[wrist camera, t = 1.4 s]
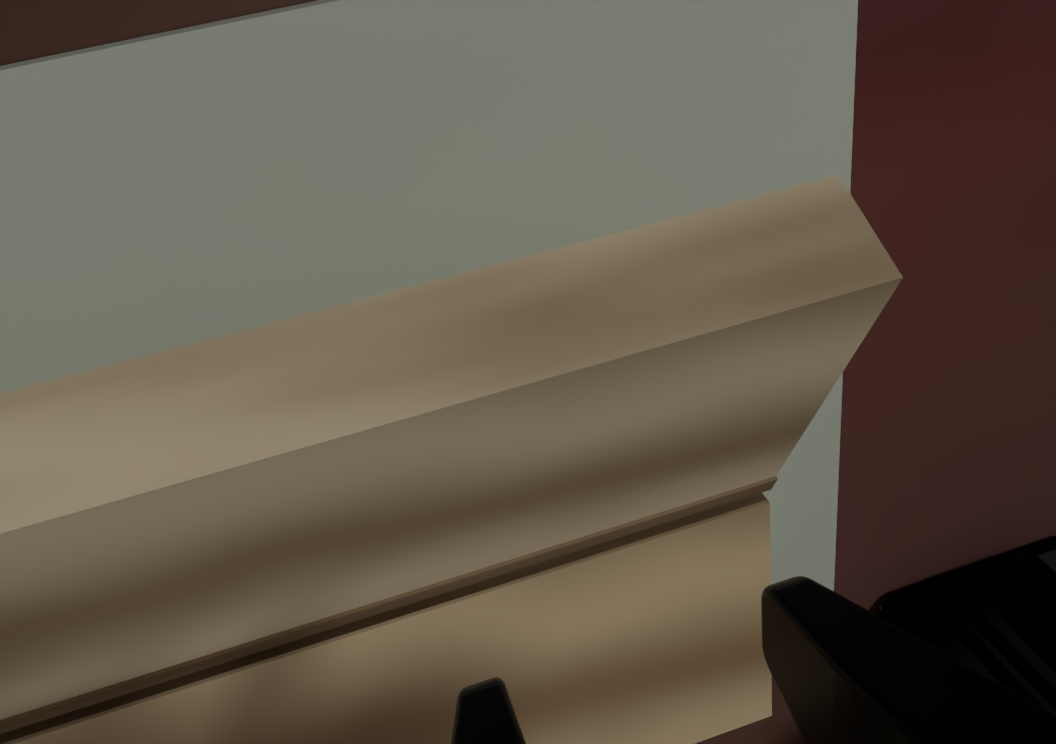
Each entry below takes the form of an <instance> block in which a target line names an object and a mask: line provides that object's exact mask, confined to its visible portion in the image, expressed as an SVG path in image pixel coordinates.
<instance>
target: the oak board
mask: <svg viewBox="0 0 1056 744" xmlns="http://www.w3.org/2000/svg"><path fill="white" fill-rule="evenodd" d="M769 585H771V572H770V502H769V501H768V499H767V498H766V497H765V496H764V495H763V493H759V494H756V495H753V496H750V497H746V498H743V499H740V500H737V501H734V502H731V503H728V504H724V505H721V506H718V507H715V508H712V509H709V510H705V511H702V512H699V513H696V514H693V515H690V516H687V517H683V518H680V519H677V520H674V521H671V522H668V523H664V524H661V525H658V526H655V527H652V528H649V529H646V530H642V531H639V532H636V533H633V534H630V535H627V536H623V537H620V538H617V539H614V540H611V541H608V542H605V543H601V544H598V545H595V546H592V547H589V548H586V549H582V550H579V551H576V552H573V553H570V554H567V555H563V556H560V557H557V558H554V559H551V560H548V561H545V562H541V563H538V564H535V565H532V566H529V567H526V568H522V569H519V570H516V571H513V572H510V573H507V574H504V575H500V576H497V577H494V578H491V579H488V580H485V581H481V582H478V583H475V584H472V585H469V586H466V587H463V588H459V589H456V590H453V591H450V592H447V593H444V594H440V595H437V596H434V597H431V598H428V599H425V600H422V601H418V602H415V603H412V604H409V605H406V606H403V607H399V608H396V609H393V610H390V611H387V612H384V613H381V614H377V615H374V616H371V617H368V618H365V619H362V620H358V621H355V622H352V623H349V624H346V625H343V626H340V627H336V628H333V629H330V630H327V631H324V632H321V633H317V634H314V635H311V636H308V637H305V638H302V639H298V640H295V641H292V642H289V643H286V644H283V645H280V646H276V647H273V648H270V649H267V650H264V651H261V652H257V653H254V654H251V655H248V656H245V657H242V658H239V659H235V660H232V661H229V662H226V663H223V664H220V665H216V666H213V667H210V668H207V669H204V670H201V671H198V672H194V673H191V674H188V675H185V676H182V677H179V678H175V679H172V680H169V681H166V682H163V683H160V684H157V685H153V686H150V687H147V688H144V689H141V690H138V691H134V692H131V693H128V694H125V695H122V696H119V697H116V698H112V699H109V700H106V701H103V702H100V703H97V704H93V705H90V706H87V707H84V708H81V709H78V710H75V711H71V712H68V713H65V714H62V715H59V716H56V717H52V718H49V719H46V720H43V721H40V722H37V723H33V724H30V725H27V726H24V727H21V728H18V729H15V730H11V731H8V732H5V733H2V734H0V744H451V738H452V731H453V724H454V717H455V710H456V703H457V698H458V695H459V692H460V691H461V690H462V689H463V688H465V687H467V686H470V685H473V684H476V683H479V682H482V681H485V680H488V679H491V678H494V677H498V678H501V679H502V680H503V681H504V683H505V685H506V688H507V691H508V693H509V696H510V699H511V702H512V705H513V708H514V710H515V713H516V716H517V719H518V722H519V725H520V727H521V730H522V733H523V736H524V739H525V742H526V744H694V743H697V742H700V741H703V740H706V739H708V738H711V737H714V736H717V735H719V734H722V733H725V732H728V731H731V730H733V729H736V728H739V727H742V726H744V725H747V724H750V723H753V722H756V721H758V720H761V719H764V718H767V717H769V716H772V674H771V672H770V670H769V668H768V666H767V663H766V660H765V657H764V654H763V649H762V621H761V596H762V592H763V590H764V589H765V587H767V586H769Z"/></svg>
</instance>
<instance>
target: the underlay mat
mask: <svg viewBox="0 0 1056 744" xmlns="http://www.w3.org/2000/svg"><path fill="white" fill-rule="evenodd" d="M857 13H858V0H318V1H313V2H309V3H304V4H299V5H294V6H289V7H284V8H280V9H275V10H270V11H265V12H260V13H255V14H250V15H246V16H241V17H236V18H231V19H226V20H221V21H216V22H212V23H207V24H202V25H197V26H192V27H187V28H182V29H178V30H173V31H168V32H163V33H158V34H153V35H149V36H144V37H139V38H134V39H129V40H124V41H119V42H115V43H110V44H105V45H100V46H95V47H90V48H85V49H81V50H76V51H71V52H66V53H61V54H56V55H52V56H47V57H42V58H37V59H32V60H27V61H22V62H18V63H13V64H8V65H3V66H0V393H3V392H7V391H10V390H14V389H18V388H22V387H26V386H30V385H33V384H37V383H41V382H45V381H49V380H53V379H57V378H60V377H64V376H68V375H72V374H76V373H80V372H83V371H87V370H91V369H95V368H99V367H103V366H106V365H110V364H114V363H118V362H122V361H126V360H129V359H133V358H137V357H141V356H145V355H149V354H153V353H156V352H160V351H164V350H168V349H172V348H176V347H179V346H183V345H187V344H191V343H195V342H199V341H202V340H206V339H210V338H214V337H218V336H222V335H225V334H229V333H233V332H237V331H241V330H245V329H249V328H252V327H256V326H260V325H264V324H268V323H272V322H275V321H279V320H283V319H287V318H291V317H295V316H298V315H302V314H306V313H310V312H314V311H318V310H321V309H325V308H329V307H333V306H337V305H341V304H345V303H348V302H352V301H356V300H360V299H364V298H368V297H371V296H375V295H379V294H383V293H387V292H391V291H394V290H398V289H402V288H406V287H410V286H414V285H417V284H421V283H425V282H429V281H433V280H437V279H441V278H444V277H448V276H452V275H456V274H460V273H464V272H467V271H471V270H475V269H479V268H483V267H487V266H490V265H494V264H498V263H502V262H506V261H510V260H513V259H517V258H521V257H525V256H529V255H533V254H537V253H540V252H544V251H548V250H552V249H556V248H560V247H563V246H567V245H571V244H575V243H579V242H583V241H586V240H590V239H594V238H598V237H602V236H606V235H609V234H613V233H617V232H621V231H625V230H629V229H633V228H636V227H640V226H644V225H648V224H652V223H656V222H659V221H663V220H667V219H671V218H675V217H679V216H682V215H686V214H690V213H694V212H698V211H702V210H706V209H709V208H713V207H717V206H721V205H725V204H729V203H732V202H736V201H740V200H744V199H748V198H752V197H755V196H759V195H763V194H767V193H771V192H775V191H778V190H782V189H786V188H790V187H794V186H798V185H802V184H805V183H809V182H813V181H817V180H821V179H825V178H828V177H832V176H836V175H839V177H840V178H841V180H842V182H843V183H844V185H845V186H846V188H847V190H848V191H849V193H850V184H851V159H852V135H853V110H854V86H855V62H856V37H857ZM842 379H843V372H842V374H841V375H840V377H839V378H838V380H837V382H836V383H835V385H834V386H833V388H832V389H831V391H830V392H829V394H828V396H827V397H826V399H825V400H824V402H823V403H822V405H821V407H820V408H819V410H818V411H817V413H816V414H815V416H814V418H813V419H812V421H811V422H810V424H809V425H808V427H807V428H806V430H805V432H804V433H803V435H802V436H801V438H800V439H799V441H798V443H797V444H796V446H795V447H794V449H793V450H792V452H791V454H790V455H789V457H788V458H787V460H786V461H785V463H784V465H783V466H782V468H781V469H780V471H779V472H778V474H777V475H776V476H777V479H778V480H777V481H776V483H775V484H774V486H773V487H772V489H771V490H769V491H765V492H762V493H763V495H764V496H765V497H766V498H767V499H768V501H769V502H770V572H771V584H774V583H777V582H780V581H783V580H786V579H789V578H792V577H796V576H804V577H807V578H810V579H812V580H814V581H816V582H817V583H819V584H821V585H823V586H825V587H827V588H828V589H830V590H832V591H834V574H835V550H836V525H837V501H838V476H839V452H840V428H841V403H842Z"/></svg>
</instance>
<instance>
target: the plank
mask: <svg viewBox="0 0 1056 744" xmlns="http://www.w3.org/2000/svg"><path fill="white" fill-rule="evenodd" d="M902 278H903V277H902V275H901V274H900V272H899V270H898V269H897V267H896V266H895V264H894V263H893V261H892V259H891V258H890V256H889V255H888V253H887V251H886V250H885V248H884V247H883V245H882V244H881V242H880V240H879V239H878V237H877V236H876V234H875V232H874V231H873V229H872V228H871V226H870V224H869V223H868V221H867V220H866V218H865V217H864V215H863V213H862V212H861V210H860V209H859V207H858V205H857V204H856V202H855V201H854V199H853V197H852V196H851V194H850V193H849V191H848V190H847V188H846V186H845V185H844V183H843V182H842V180H841V178H840V177H839V175H836V176H832V177H828V178H825V179H821V180H817V181H813V182H809V183H805V184H802V185H798V186H794V187H790V188H786V189H782V190H778V191H775V192H771V193H767V194H763V195H759V196H755V197H752V198H748V199H744V200H740V201H736V202H732V203H729V204H725V205H721V206H717V207H713V208H709V209H706V210H702V211H698V212H694V213H690V214H686V215H682V216H679V217H675V218H671V219H667V220H663V221H659V222H656V223H652V224H648V225H644V226H640V227H636V228H633V229H629V230H625V231H621V232H617V233H613V234H609V235H606V236H602V237H598V238H594V239H590V240H586V241H583V242H579V243H575V244H571V245H567V246H563V247H560V248H556V249H552V250H548V251H544V252H540V253H537V254H533V255H529V256H525V257H521V258H517V259H513V260H510V261H506V262H502V263H498V264H494V265H490V266H487V267H483V268H479V269H475V270H471V271H467V272H464V273H460V274H456V275H452V276H448V277H444V278H441V279H437V280H433V281H429V282H425V283H421V284H417V285H414V286H410V287H406V288H402V289H398V290H394V291H391V292H387V293H383V294H379V295H375V296H371V297H368V298H364V299H360V300H356V301H352V302H348V303H345V304H341V305H337V306H333V307H329V308H325V309H321V310H318V311H314V312H310V313H306V314H302V315H298V316H295V317H291V318H287V319H283V320H279V321H275V322H272V323H268V324H264V325H260V326H256V327H252V328H249V329H245V330H241V331H237V332H233V333H229V334H225V335H222V336H218V337H214V338H210V339H206V340H202V341H199V342H195V343H191V344H187V345H183V346H179V347H176V348H172V349H168V350H164V351H160V352H156V353H153V354H149V355H145V356H141V357H137V358H133V359H129V360H126V361H122V362H118V363H114V364H110V365H106V366H103V367H99V368H95V369H91V370H87V371H83V372H80V373H76V374H72V375H68V376H64V377H60V378H57V379H53V380H49V381H45V382H41V383H37V384H33V385H30V386H26V387H22V388H18V389H14V390H10V391H7V392H3V393H0V734H2V733H5V732H8V731H11V730H15V729H18V728H21V727H24V726H27V725H30V724H33V723H37V722H40V721H43V720H46V719H49V718H52V717H56V716H59V715H62V714H65V713H68V712H71V711H75V710H78V709H81V708H84V707H87V706H90V705H93V704H97V703H100V702H103V701H106V700H109V699H112V698H116V697H119V696H122V695H125V694H128V693H131V692H134V691H138V690H141V689H144V688H147V687H150V686H153V685H157V684H160V683H163V682H166V681H169V680H172V679H175V678H179V677H182V676H185V675H188V674H191V673H194V672H198V671H201V670H204V669H207V668H210V667H213V666H216V665H220V664H223V663H226V662H229V661H232V660H235V659H239V658H242V657H245V656H248V655H251V654H254V653H257V652H261V651H264V650H267V649H270V648H273V647H276V646H280V645H283V644H286V643H289V642H292V641H295V640H298V639H302V638H305V637H308V636H311V635H314V634H317V633H321V632H324V631H327V630H330V629H333V628H336V627H340V626H343V625H346V624H349V623H352V622H355V621H358V620H362V619H365V618H368V617H371V616H374V615H377V614H381V613H384V612H387V611H390V610H393V609H396V608H399V607H403V606H406V605H409V604H412V603H415V602H418V601H422V600H425V599H428V598H431V597H434V596H437V595H440V594H444V593H447V592H450V591H453V590H456V589H459V588H463V587H466V586H469V585H472V584H475V583H478V582H481V581H485V580H488V579H491V578H494V577H497V576H500V575H504V574H507V573H510V572H513V571H516V570H519V569H522V568H526V567H529V566H532V565H535V564H538V563H541V562H545V561H548V560H551V559H554V558H557V557H560V556H563V555H567V554H570V553H573V552H576V551H579V550H582V549H586V548H589V547H592V546H595V545H598V544H601V543H605V542H608V541H611V540H614V539H617V538H620V537H623V536H627V535H630V534H633V533H636V532H639V531H642V530H646V529H649V528H652V527H655V526H658V525H661V524H664V523H668V522H671V521H674V520H677V519H680V518H683V517H687V516H690V515H693V514H696V513H699V512H702V511H705V510H709V509H712V508H715V507H718V506H721V505H724V504H728V503H731V502H734V501H737V500H740V499H743V498H746V497H750V496H753V495H756V494H759V493H762V492H765V491H769V490H771V489H772V487H773V486H774V484H775V483H776V481H777V480H778V479H777V476H776V475H777V474H778V472H779V471H780V469H781V468H782V466H783V465H784V463H785V461H786V460H787V458H788V457H789V455H790V454H791V452H792V450H793V449H794V447H795V446H796V444H797V443H798V441H799V439H800V438H801V436H802V435H803V433H804V432H805V430H806V428H807V427H808V425H809V424H810V422H811V421H812V419H813V418H814V416H815V414H816V413H817V411H818V410H819V408H820V407H821V405H822V403H823V402H824V400H825V399H826V397H827V396H828V394H829V392H830V391H831V389H832V388H833V386H834V385H835V383H836V382H837V380H838V378H839V377H840V375H841V374H842V372H843V371H844V369H845V367H846V366H847V364H848V363H849V361H850V360H851V358H852V356H853V355H854V353H855V352H856V350H857V349H858V347H859V346H860V344H861V342H862V341H863V339H864V338H865V336H866V335H867V333H868V331H869V330H870V328H871V327H872V325H873V324H874V322H875V320H876V319H877V317H878V316H879V314H880V313H881V311H882V310H883V308H884V306H885V305H886V303H887V302H888V300H889V299H890V297H891V295H892V294H893V292H894V291H895V289H896V288H897V286H898V284H899V283H900V281H901V280H902Z"/></svg>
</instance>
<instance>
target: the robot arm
mask: <svg viewBox="0 0 1056 744" xmlns="http://www.w3.org/2000/svg"><path fill="white" fill-rule="evenodd" d="M761 621H762V649H763V654H764V657H765V660H766V663H767V666H768V668H769V670H770V672H771V674H772V676H773V678H774V680H775V682H776V684H777V686H778V688H779V690H780V692H781V694H782V696H783V698H784V700H785V702H786V704H787V706H788V708H789V710H790V712H791V714H792V716H793V718H794V720H795V722H796V724H797V726H798V728H799V730H800V732H801V734H802V736H803V738H804V740H805V742H806V744H1056V537H1055V538H1052V539H1049V540H1047V541H1044V542H1041V543H1038V544H1035V545H1032V546H1029V547H1026V548H1023V549H1020V550H1018V551H1015V552H1012V553H1009V554H1006V555H1003V556H1000V557H997V558H994V559H991V560H989V561H986V562H983V563H980V564H977V565H974V566H971V567H968V568H965V569H962V570H959V571H957V572H954V573H951V574H948V575H945V576H942V577H939V578H936V579H933V580H930V581H928V582H925V583H922V584H919V585H916V586H913V587H910V588H907V589H904V590H901V591H899V592H896V593H894V594H892V595H891V596H890V597H889V598H888V599H887V600H886V601H885V603H884V604H883V607H882V614H881V617H879V616H877V615H875V614H873V613H872V612H870V611H868V610H866V609H864V608H863V607H861V606H859V605H857V604H855V603H854V602H852V601H850V600H848V599H846V598H845V597H843V596H841V595H839V594H837V593H836V592H834V591H832V590H830V589H828V588H827V587H825V586H823V585H821V584H819V583H817V582H816V581H814V580H812V579H810V578H807V577H804V576H796V577H792V578H789V579H786V580H783V581H780V582H777V583H774V584H771V585H769V586H767V587H765V589H764V590H763V592H762V596H761ZM451 744H526V742H525V739H524V736H523V733H522V730H521V727H520V725H519V722H518V719H517V716H516V713H515V710H514V708H513V705H512V702H511V699H510V696H509V693H508V691H507V688H506V685H505V683H504V681H503V680H502V679H501V678H498V677H494V678H491V679H488V680H485V681H482V682H479V683H476V684H473V685H470V686H467V687H465V688H463V689H462V690H461V691H460V692H459V695H458V698H457V703H456V710H455V717H454V724H453V731H452V738H451Z"/></svg>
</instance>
